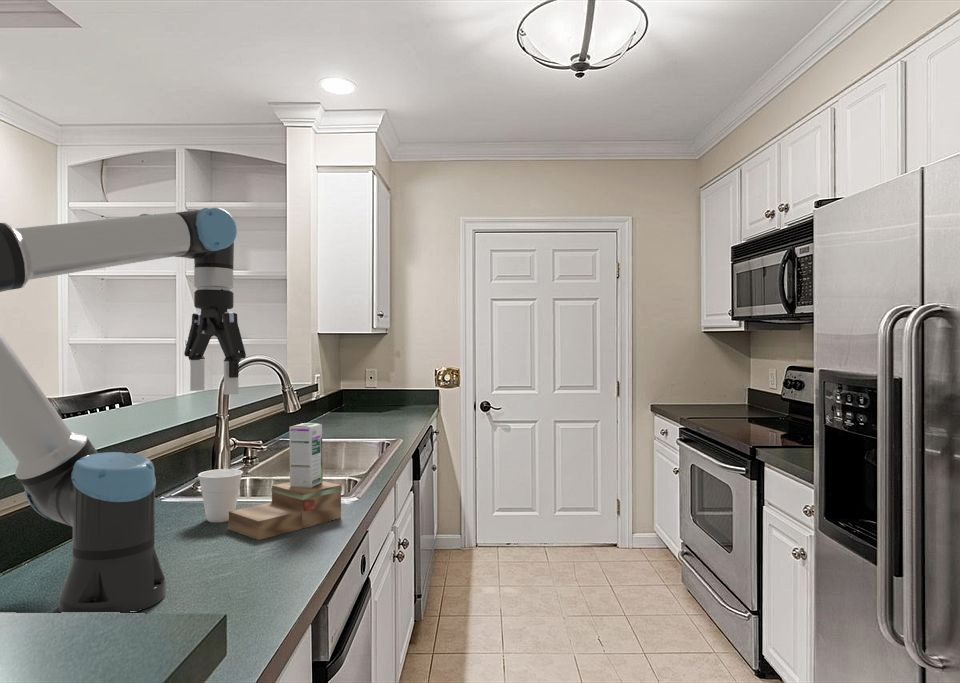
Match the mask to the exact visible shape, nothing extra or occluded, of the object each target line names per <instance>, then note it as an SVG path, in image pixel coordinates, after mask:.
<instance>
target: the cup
mask: <svg viewBox="0 0 960 683" xmlns="http://www.w3.org/2000/svg"><path fill="white" fill-rule="evenodd" d="M243 473H244V471H243V470H240V469H235V468H219V469H212V470H211V469H208V470H206V471H202V472H200V473H198V474H197V476H198V478H199V485H200V489H201V496H202V501H203V506H204V514H205V519H206V520H207V522H210V523H218V524H219V523H224V522H229V511H234V510H237V509H236V508H237V504H238V496H239V490H240V487H241V486H240V485H241V480H242V475H243Z"/></svg>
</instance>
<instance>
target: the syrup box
mask: <svg viewBox="0 0 960 683" xmlns="http://www.w3.org/2000/svg"><path fill="white" fill-rule="evenodd" d="M288 430H289V482H290V486H291V487H300V488H312V487H314V486H316V485H318V484H320V483H322V482H323V481H324V475H323V472H324V471H323V466H324V465H323V424H322V423H318V422H304V423H303V422H302V423H300V424H299V423H298V424H296V425H295V424H294V425H292V426H289V429H288Z"/></svg>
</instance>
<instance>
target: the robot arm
mask: <svg viewBox="0 0 960 683" xmlns="http://www.w3.org/2000/svg"><path fill="white" fill-rule="evenodd" d="M237 232H238V230H237V224H236V221H235V219H234V217H233V216H232V215H231V214H230V213H229V212H228V211H227V210H225V209H224V208H220V207H204V208H202V209H197V210H186V211H178V212H167V213H154V214H150V213H149V214H148V213H142V214H140V215H137V216H128V217H127V216H126V217H117V218H116V217H115V218H108V219H107V218H105V219H98V220H97V219H96V220H87V221H76V222H68V223H67V222H66V223H57V224H48V225H46V224H45V225H36V226H26V227H17V228H14V227H12V226H11V225H9V224H8V223H6V222H0V293H1V292H7V291H13V290H18V289H22V288H24V287H25V286H26V284H28V282H29V281H30V280H31V281H32V280H35V279H42V278H47V277H48V278H49V277H54V276H61V275H67V274H73V273H79V272H85V271H92V270H98V269H105V268H111V267H116V266H123V265H130V264H135V263H141V262H147V261H153V260H160V259H165V258H173V257H176V258H185V259H186V258H187V259H189V260H190V259H193V260H194V261H193V262H194V263H193V264H194V268H193V270H194V273H193V278H194V279H193V280H194V281H193V284H194V285H193V287H195V288H197V289H196V290H195V291H194V292H193V294H194V297H193V298H194V300H193V302H194V304H193V306H194V308H196V309H197V310H198V309H199V310H201V311H200V313H197V312H196V313H192V315H191V325H190V329H189V333H188V338H187V340H186V341H187V342H186V345H185V348H184V349H185V350H184V352H183V354H184V356H185V357H187V358H188V360H189V361H190V362H189V364H190V365H189V366H190V368H189V370H190V371H189V372H190V374H189V375H190V376H189V378H190V382H189V383H190V385H189V386H190V387H189V388H190V391H191V392H195V391H196V392H198V391H205V359H206V358H205V356H204V354H205V352H206V350H207V347H208V345H209V343H210V340H211V338H213V337H216V338H217V341H218V343H219V346H220V348H221V350H222V352H223V354H224V359H223V395H226V396H227V395H228V396H229V395H238V394H239V375H240V372H239V370H240V369H239V367H240V363H239V362H240V361H241V360H242V359H245V358H246V357H247V354H246V349H245V346H244V342H243V338H242V335H241V331H240V327H239V322H238V313H237V312H228V310H232V309H233V308H234V292H233V291H231V290H232V289H233V288H234V279H235V276H234V265H235V264H234V261H235V260H234V255H235V252H234V251H235V250H234V249H235V247H234V246H235V240H236V237H237V235H238V234H237ZM0 440H1V441H2V442H3V444H5V447H7V449H8V450H9V451H10V452H11V454H12V455H13V457H14V458H15V460H17V462H18V464H17V466H16V469H15V472H14V475H15V476H14V477H16V479H17V480H18V481H19V482H20V484H21V485H22V486H23V487H24V493H25V497H26V500H27V502H28V503H29V505H30V506H31V507H32V509H33V511H35V512H36V513H38V514H39V515H40V516H41V517H43V518H45V519H48V520H49V521H53V522H57V523H61V524H63V525H67V526H69V527H71V528H72V559H71V564H70V566H69V569H68V572H67V575H66V577H65V580H64V583H63V586H62V588H61V591H60V594H59V599H58V600H59V601H58V605H59V607H58V611H59V613H60V612H120V613H132V614H135V613H136V612H130V611H138V612H140V609H144V610H146V609H148V608H151V607H152V606H155V605H156V604H158V603H159V602H161V601H162V600H163V599H164V598H165V597H166V594H167V579H166V576H165V573H164V570H163V568H162V565H161V563H160V561H159V557H158V555H157V552H156V548H155V527H156V526H155V522H156V521H155V516H156V514H155V513H156V511H155V510H156V509H155V508H156V506H155V505H156V500H155V499H156V486H157V480H156V479H157V478H156V475H155V466H154V463H153V462H152V460H150V459H149V458H148V457H146V456H144V455H141V454H137V453H133V452H128V453H125V452H122V451H117V452H116V451H109V452H107V451H106V452H100V453H99V451H98V450H97V449H96V448H95V446H94V445H93V444H92V442H91V441H90V439H89V438H88V436H87V435H86V434H84V433H79V432H72V431H71V429H70V428H69V427H68V425H67V424H66V423H65V422H64V420H63V418H62V417H61V416H60V414H59V413H58V411H57V410H56V409H55V407H54V406H53V404H52V403H51V401H50V400H49V398H48V397H47V396H46V394H45V393H44V391H43V390H42V389H41V387H40V386H39V385H38V383H37V382H36V380H35V379H34V377H33V376H32V375H31V373H30V372H29V370H28V369H27V368H26V366H25V365H24V363H23V362H22V361H21V358H19V356H18V355H17V354H16V352H15V350H14V349H13V348H12V346H11V345H10V343H9V342H8V341H7V339H6V338H5V336H4V334H2V332H1V331H0Z"/></svg>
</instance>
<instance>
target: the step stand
mask: <svg viewBox="0 0 960 683" xmlns="http://www.w3.org/2000/svg"><path fill="white" fill-rule="evenodd" d="M342 489H343V487H342V485H341V484H339V483H333V482H331V481H330V482H329V481H326V480H323V482H322V483H320V484H318V485H316V486H314V487H312V488H300V487H291V486H290V481H288V482H282V483H278V484H272V485H271V502H267V503H261V504H258V505H254V506H253V505H252V506H247V507H244V508H238V509H236V510H234V511H229V521H228V530H229V531H232V532H235V533H238V534H241V535H243V536H246V537H250V538H251V539H255V540H257V541H260V540H263V539H264V540H265V539H267V538H271V537H275V536H280V535H282V534H287V533H291V532H295V531H297V530H301V529H305V528H309V527H313V526H317V524H318V525H321V524H324V522H325V523H328V521H329V522H332V521H331V520H333V521H335V520H334V519H337V520H339V519H338V518H340V519H341V518H342Z"/></svg>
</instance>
